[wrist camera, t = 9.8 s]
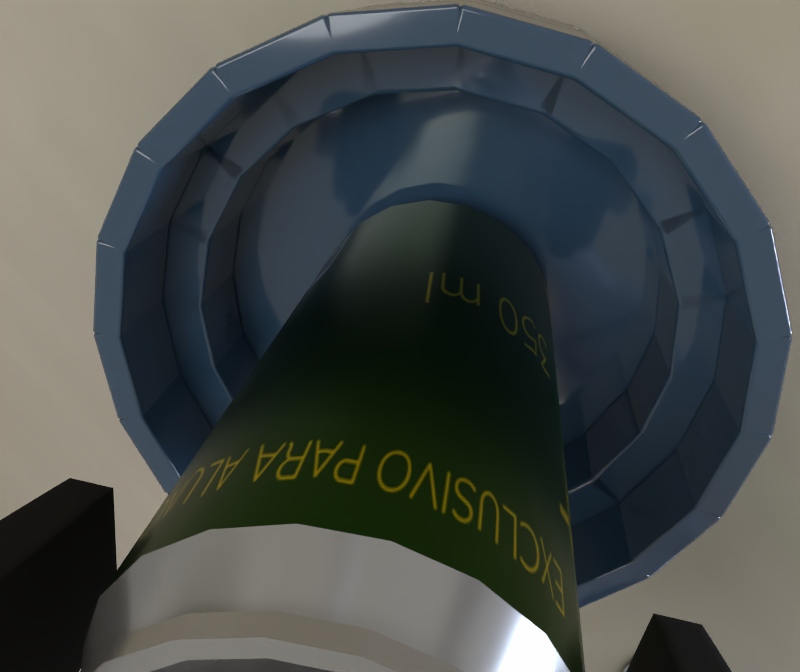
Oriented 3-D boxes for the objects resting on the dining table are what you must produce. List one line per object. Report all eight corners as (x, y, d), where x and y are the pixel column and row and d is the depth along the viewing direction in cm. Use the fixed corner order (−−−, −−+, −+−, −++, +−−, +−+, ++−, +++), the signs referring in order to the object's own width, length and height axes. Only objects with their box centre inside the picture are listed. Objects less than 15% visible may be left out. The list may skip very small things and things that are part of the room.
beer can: (308, 359, 18) (23, 877, 8) (354, 160, 16) (23, 529, 5) (506, 420, 18) (490, 1026, 8) (584, 231, 16) (719, 745, 5)
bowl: (596, 553, 21) (615, 690, 17) (166, 425, 21) (84, 530, 17) (836, 98, 14) (957, 143, 10) (219, -76, 15) (107, -97, 11)
